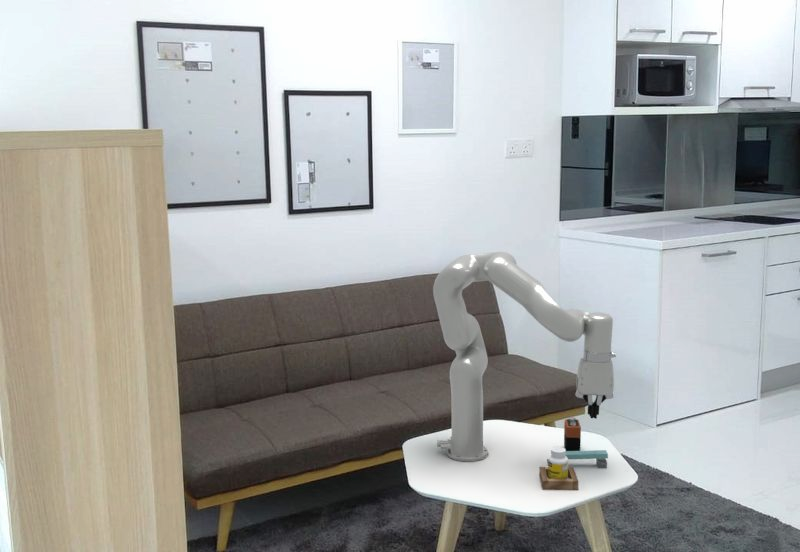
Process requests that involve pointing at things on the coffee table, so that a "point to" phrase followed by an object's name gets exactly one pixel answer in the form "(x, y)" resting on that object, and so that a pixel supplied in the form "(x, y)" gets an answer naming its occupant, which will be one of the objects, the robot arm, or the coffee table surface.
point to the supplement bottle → (558, 464)
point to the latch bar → (587, 454)
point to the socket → (558, 480)
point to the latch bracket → (598, 463)
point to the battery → (572, 434)
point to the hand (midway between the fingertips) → (592, 416)
